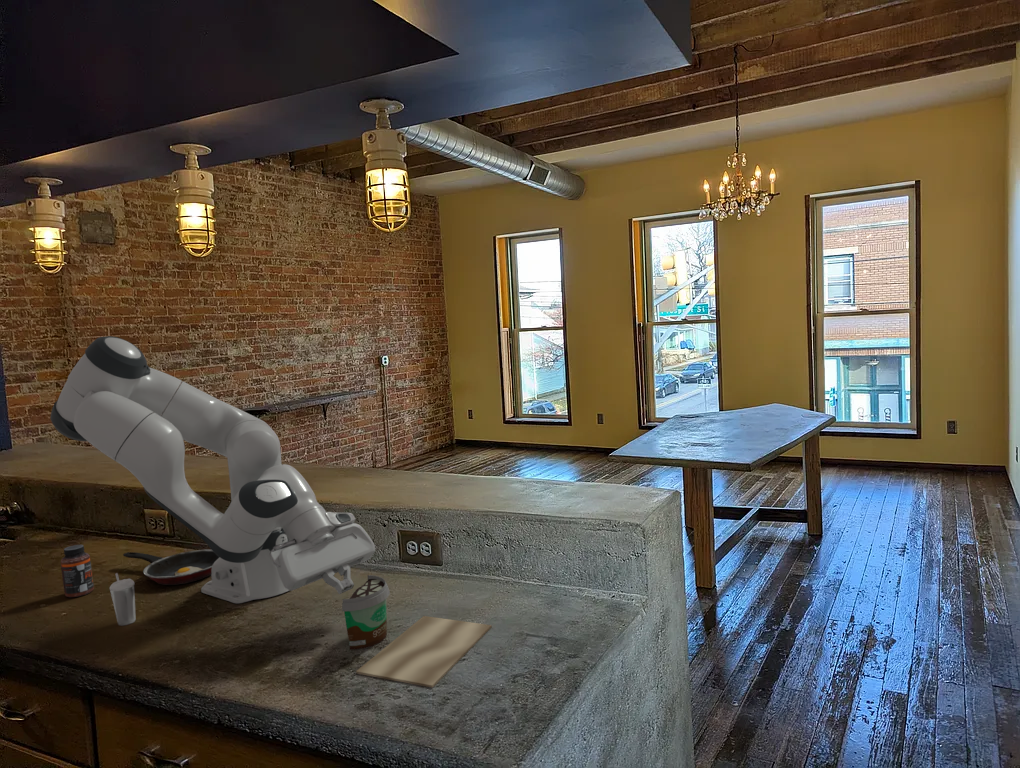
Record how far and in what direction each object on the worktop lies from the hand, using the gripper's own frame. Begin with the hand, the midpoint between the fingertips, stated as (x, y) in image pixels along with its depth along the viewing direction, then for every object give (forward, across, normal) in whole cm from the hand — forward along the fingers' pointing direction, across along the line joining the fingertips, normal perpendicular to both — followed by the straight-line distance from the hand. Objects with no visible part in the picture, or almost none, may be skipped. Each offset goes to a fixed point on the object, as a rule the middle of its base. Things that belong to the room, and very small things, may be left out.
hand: (347, 589), depth 133 cm
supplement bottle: (-46, -23, +58) cm, 77 cm away
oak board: (+19, +2, -8) cm, 21 cm away
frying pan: (-42, -4, +54) cm, 69 cm away
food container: (+11, 0, 0) cm, 11 cm away
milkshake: (-26, -24, +38) cm, 52 cm away
